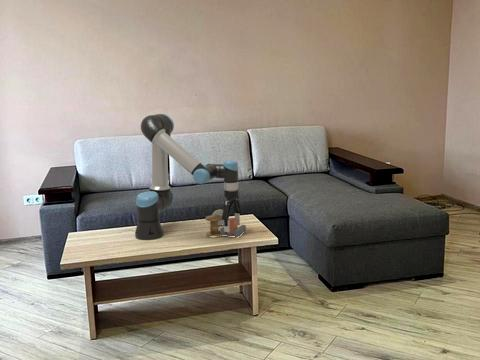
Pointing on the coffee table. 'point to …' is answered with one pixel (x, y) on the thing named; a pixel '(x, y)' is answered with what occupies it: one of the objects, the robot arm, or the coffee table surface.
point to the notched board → (235, 231)
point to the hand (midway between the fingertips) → (232, 228)
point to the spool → (214, 225)
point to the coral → (220, 212)
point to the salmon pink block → (232, 225)
